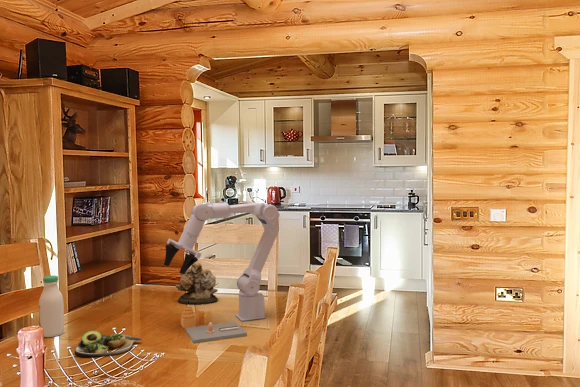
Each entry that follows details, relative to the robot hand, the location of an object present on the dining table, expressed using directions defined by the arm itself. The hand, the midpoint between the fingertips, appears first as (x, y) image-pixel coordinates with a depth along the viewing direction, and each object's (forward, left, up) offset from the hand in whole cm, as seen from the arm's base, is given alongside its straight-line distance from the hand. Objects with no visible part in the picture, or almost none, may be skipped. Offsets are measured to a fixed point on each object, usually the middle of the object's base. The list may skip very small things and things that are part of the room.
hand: (173, 269), depth 174 cm
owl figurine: (-15, -33, -21) cm, 42 cm away
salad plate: (+24, +11, -21) cm, 34 cm away
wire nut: (-5, 0, -21) cm, 21 cm away
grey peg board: (-12, +12, -21) cm, 27 cm away
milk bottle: (+40, -10, -21) cm, 46 cm away
